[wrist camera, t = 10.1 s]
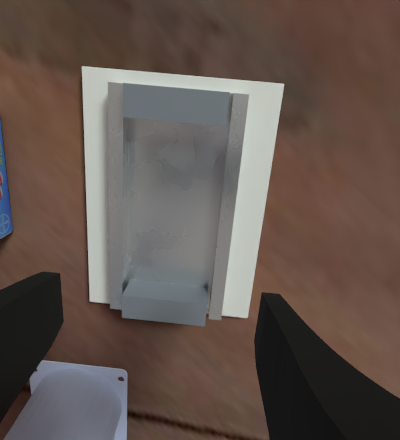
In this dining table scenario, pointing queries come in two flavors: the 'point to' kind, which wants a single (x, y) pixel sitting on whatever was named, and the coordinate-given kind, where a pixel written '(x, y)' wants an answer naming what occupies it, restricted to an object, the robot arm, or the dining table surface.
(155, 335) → the dining table surface
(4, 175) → the medicine box
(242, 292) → the white flat tray
